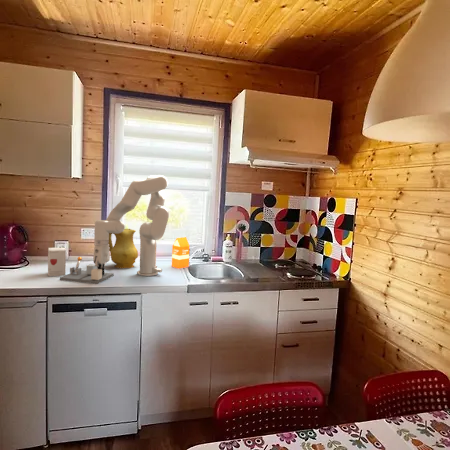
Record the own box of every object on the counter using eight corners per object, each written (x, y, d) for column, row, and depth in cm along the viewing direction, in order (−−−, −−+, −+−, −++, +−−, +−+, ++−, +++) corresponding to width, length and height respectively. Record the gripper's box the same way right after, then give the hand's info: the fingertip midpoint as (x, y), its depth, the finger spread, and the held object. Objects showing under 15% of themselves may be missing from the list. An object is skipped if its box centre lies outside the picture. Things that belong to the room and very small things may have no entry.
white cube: (96, 273, 198) (96, 264, 197) (92, 274, 194) (93, 266, 193) (90, 272, 198) (90, 264, 198) (86, 274, 195) (86, 265, 194)
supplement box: (47, 276, 192) (48, 250, 190) (47, 272, 199) (47, 247, 198) (65, 275, 196) (66, 249, 194) (65, 271, 204) (65, 247, 202)
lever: (78, 273, 195) (83, 257, 199) (76, 272, 193) (81, 256, 197) (74, 272, 195) (79, 257, 199) (72, 271, 193) (77, 255, 197)
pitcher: (121, 270, 213) (122, 230, 212) (103, 266, 224) (104, 228, 223) (143, 267, 227) (144, 229, 226) (125, 263, 238) (126, 227, 237)
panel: (113, 275, 201) (113, 267, 200) (97, 284, 183) (97, 274, 182) (79, 272, 204) (79, 264, 204) (60, 280, 186) (60, 271, 186)
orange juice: (171, 266, 233) (172, 237, 231) (181, 264, 239) (182, 236, 237) (179, 268, 228) (180, 238, 226) (188, 266, 234) (190, 237, 232)
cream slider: (101, 278, 188) (102, 269, 188) (98, 279, 184) (98, 270, 184) (95, 277, 189) (95, 268, 188) (91, 279, 185) (91, 270, 184)
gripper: (100, 245, 181) (100, 279, 183) (114, 241, 196) (113, 272, 198) (87, 244, 182) (87, 277, 184) (102, 240, 197) (101, 271, 199)
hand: (100, 275), depth 191 cm, fingers closed
